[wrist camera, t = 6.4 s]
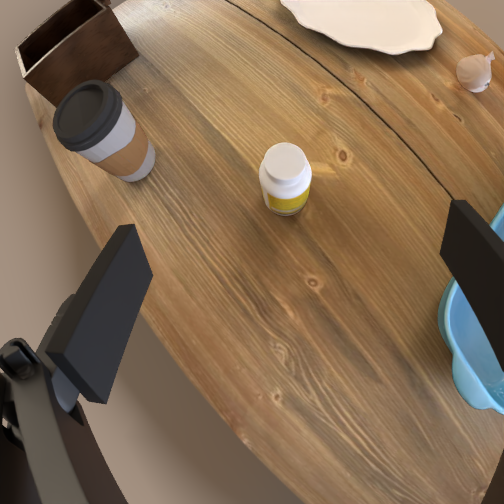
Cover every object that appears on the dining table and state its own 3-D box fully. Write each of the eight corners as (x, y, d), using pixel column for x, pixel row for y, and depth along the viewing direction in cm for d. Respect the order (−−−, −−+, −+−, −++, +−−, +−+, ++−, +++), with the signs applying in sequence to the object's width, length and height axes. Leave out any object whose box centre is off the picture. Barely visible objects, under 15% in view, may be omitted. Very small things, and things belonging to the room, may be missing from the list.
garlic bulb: (487, 101, 37) (508, 75, 30) (458, 96, 38) (478, 68, 30) (473, 71, 38) (491, 44, 31) (445, 66, 39) (461, 36, 31)
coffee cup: (154, 126, 42) (107, 63, 27) (171, 172, 41) (119, 113, 26) (106, 154, 42) (47, 103, 28) (118, 200, 41) (52, 157, 26)
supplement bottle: (316, 200, 38) (325, 168, 28) (279, 225, 38) (276, 199, 28) (291, 166, 39) (291, 126, 29) (254, 189, 39) (244, 154, 29)
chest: (65, 115, 45) (23, 78, 33) (49, 82, 48) (14, 48, 35) (139, 55, 45) (109, 6, 33) (113, 29, 48) (86, -12, 35)
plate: (378, -32, 45) (379, -39, 42) (465, 52, 39) (470, 44, 37) (256, -15, 46) (255, -24, 43) (333, 78, 40) (334, 67, 38)
